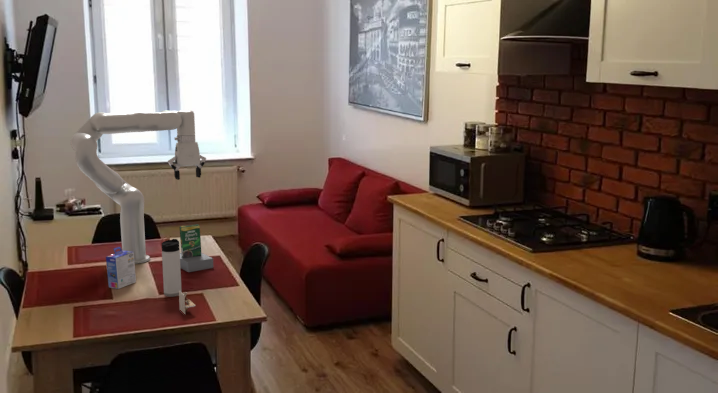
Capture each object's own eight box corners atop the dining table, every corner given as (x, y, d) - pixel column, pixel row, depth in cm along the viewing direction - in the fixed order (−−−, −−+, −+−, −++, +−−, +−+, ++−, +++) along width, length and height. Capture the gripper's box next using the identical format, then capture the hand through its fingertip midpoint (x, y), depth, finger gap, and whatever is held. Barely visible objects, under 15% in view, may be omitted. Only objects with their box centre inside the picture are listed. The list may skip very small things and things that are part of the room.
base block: (188, 272, 293) (188, 262, 292) (172, 263, 305) (171, 254, 304) (213, 267, 299) (213, 258, 299) (196, 259, 312) (196, 250, 311)
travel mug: (185, 292, 268) (183, 239, 264) (175, 297, 262) (172, 243, 258) (170, 290, 270) (168, 238, 266) (160, 295, 264) (157, 242, 260)
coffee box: (182, 258, 298) (180, 227, 296) (180, 256, 301) (179, 225, 298) (201, 256, 302) (200, 225, 299) (199, 254, 304) (198, 223, 302)
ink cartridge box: (125, 280, 282) (123, 244, 279) (136, 282, 280) (134, 245, 277) (107, 287, 273) (104, 250, 271) (118, 289, 271) (116, 251, 268)
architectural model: (189, 309, 251) (188, 288, 250) (195, 315, 245) (194, 294, 244) (179, 311, 249) (178, 290, 248) (185, 317, 244) (185, 296, 242)
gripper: (170, 141, 305) (172, 181, 309) (208, 138, 316) (210, 177, 319) (163, 139, 311) (165, 179, 314) (201, 137, 322) (202, 175, 325)
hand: (188, 178), depth 317 cm, fingers open, 9 cm apart
